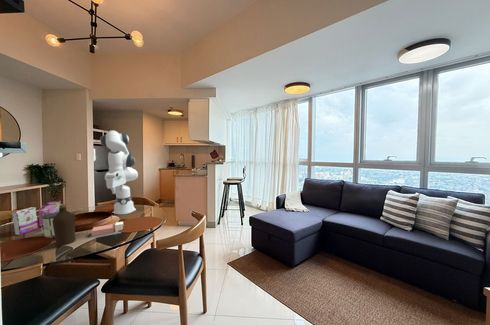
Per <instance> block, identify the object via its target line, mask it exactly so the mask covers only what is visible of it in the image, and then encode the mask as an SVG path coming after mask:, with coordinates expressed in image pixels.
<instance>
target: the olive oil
mask: <svg viewBox="0 0 490 325" xmlns="http://www.w3.org/2000/svg"><path fill="white" fill-rule="evenodd" d="M52 223H53V228H54V234H55V236H54V239H55V245H56V247H62V246H68V245H70V244H73V243H75V241H76V239H77V238H76V217H75V215H74V214H73V213H72V212H70V211H68V210H67V206H66V204H61V205H60V206H59V213H58V214H57V215H56V216H55V217H54V218H53V221H52Z"/></svg>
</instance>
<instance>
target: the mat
mask: <svg viewBox="0 0 490 325" xmlns="http://www.w3.org/2000/svg"><path fill="white" fill-rule="evenodd" d="M118 234H122V233H121V232H115V230H114V233H111V234H105V235H100V236H95V237H92V232H91V233H90V236H89V240H92V239H96V238H101V237H107V236H112V235H118Z"/></svg>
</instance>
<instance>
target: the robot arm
mask: <svg viewBox="0 0 490 325" xmlns="http://www.w3.org/2000/svg"><path fill="white" fill-rule="evenodd" d="M129 141H130V138H129V135H128V134H127V133H124V132H122V133H119V132H118V131H117V130H109V131H108V132H107V133H106V134H104V135H101V136H100V138H99V143H100V144H101V146H102V147H104V148H107V149H109V150H110V151H109V152H108V154H107V157H106V158H105V161H106V167H108V171H106V173H105V174H104V180H105V184H106V188H107V189H110V191H111V194H113V195H115V196H116V197H115V203H114V204H113V209H114V210H113V211H112V213H114V214H113V215H115V214H116V215H127V214H131V213H132V212H135V211H137V209H136V208H135V205H134V201H133V200H132V196H131V187H130V186H128V185H127V184H126V183H127V182H131V181H135V180H137V179H138V177H139V173H138V172H139V171H137V170H136V169H134V168H133V166H135V164H136V160H135V157H134V154H132V152H131V150H130V148H129V146H128V144H129V143H130V142H129ZM125 184H126V185H125Z"/></svg>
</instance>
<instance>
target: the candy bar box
mask: <svg viewBox="0 0 490 325" xmlns="http://www.w3.org/2000/svg"><path fill="white" fill-rule="evenodd" d="M11 215H12V221H13V226H14V228H13V230H14V233H15V236H22V235H25V234H28V233H30V232H33V231H36V230H39V229H40V228H39V227H40V225H39V218H38V213H37V207H32V206H31V207H27V208H24V209H20V210H16V211H12V212H11Z"/></svg>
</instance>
